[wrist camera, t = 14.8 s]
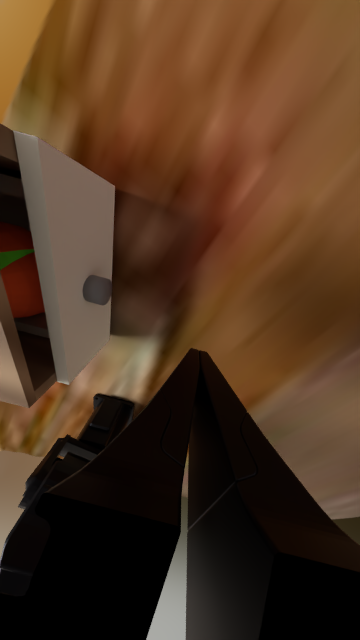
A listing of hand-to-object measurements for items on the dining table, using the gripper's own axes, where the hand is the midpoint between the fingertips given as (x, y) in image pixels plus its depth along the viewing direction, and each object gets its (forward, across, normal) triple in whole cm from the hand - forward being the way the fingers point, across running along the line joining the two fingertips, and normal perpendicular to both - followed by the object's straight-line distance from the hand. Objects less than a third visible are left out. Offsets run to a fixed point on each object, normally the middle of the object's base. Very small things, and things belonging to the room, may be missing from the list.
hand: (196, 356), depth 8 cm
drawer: (+9, +15, 0) cm, 17 cm away
